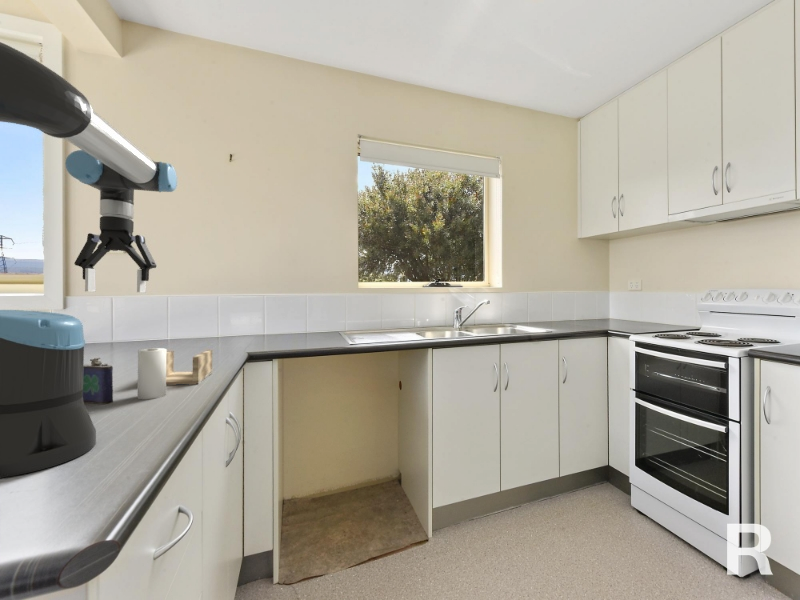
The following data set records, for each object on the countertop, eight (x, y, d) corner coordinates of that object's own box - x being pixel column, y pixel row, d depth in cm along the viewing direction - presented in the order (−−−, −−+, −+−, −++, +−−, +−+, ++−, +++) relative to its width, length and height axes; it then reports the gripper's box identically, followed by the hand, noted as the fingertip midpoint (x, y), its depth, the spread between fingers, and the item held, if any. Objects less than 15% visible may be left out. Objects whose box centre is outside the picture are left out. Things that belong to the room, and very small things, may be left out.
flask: (72, 402, 83) (72, 358, 83) (84, 399, 86) (85, 356, 86) (106, 404, 82) (106, 359, 82) (117, 401, 85) (118, 357, 85)
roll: (160, 398, 87) (160, 350, 87) (132, 400, 86) (133, 351, 86) (169, 392, 93) (170, 347, 93) (144, 393, 92) (144, 347, 92)
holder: (198, 384, 102) (198, 357, 102) (147, 386, 99) (148, 358, 99) (212, 373, 116) (212, 349, 116) (168, 375, 113) (168, 350, 112)
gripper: (170, 222, 104) (169, 292, 104) (80, 219, 102) (79, 291, 102) (155, 216, 97) (154, 292, 97) (57, 213, 94) (56, 290, 94)
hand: (116, 292), depth 99 cm, fingers open, 13 cm apart
